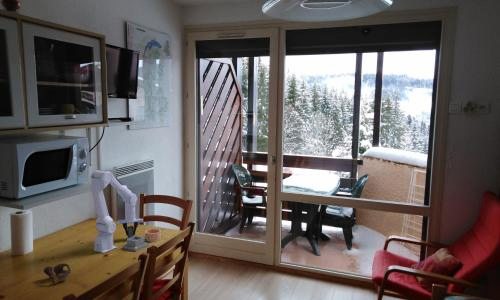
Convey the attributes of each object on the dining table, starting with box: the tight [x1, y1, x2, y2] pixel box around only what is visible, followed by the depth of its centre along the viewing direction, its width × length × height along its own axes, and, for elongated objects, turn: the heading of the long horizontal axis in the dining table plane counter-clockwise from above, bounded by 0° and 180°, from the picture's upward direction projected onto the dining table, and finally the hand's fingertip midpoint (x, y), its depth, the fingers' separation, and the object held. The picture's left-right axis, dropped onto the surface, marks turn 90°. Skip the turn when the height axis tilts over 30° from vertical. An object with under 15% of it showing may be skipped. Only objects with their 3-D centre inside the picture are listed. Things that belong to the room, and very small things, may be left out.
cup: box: [144, 228, 162, 243], centre depth 219 cm, size 9×9×5 cm
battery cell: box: [127, 225, 135, 239], centre depth 219 cm, size 4×4×8 cm
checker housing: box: [122, 235, 150, 252], centre depth 207 cm, size 10×10×5 cm
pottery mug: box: [43, 262, 72, 284], centre depth 167 cm, size 12×10×8 cm
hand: (130, 234), depth 219 cm, fingers closed on battery cell, 4 cm apart
